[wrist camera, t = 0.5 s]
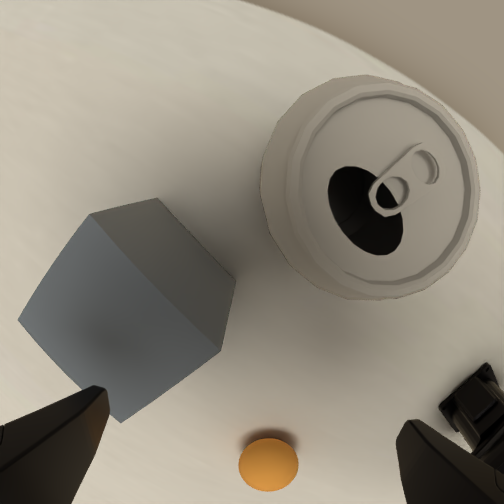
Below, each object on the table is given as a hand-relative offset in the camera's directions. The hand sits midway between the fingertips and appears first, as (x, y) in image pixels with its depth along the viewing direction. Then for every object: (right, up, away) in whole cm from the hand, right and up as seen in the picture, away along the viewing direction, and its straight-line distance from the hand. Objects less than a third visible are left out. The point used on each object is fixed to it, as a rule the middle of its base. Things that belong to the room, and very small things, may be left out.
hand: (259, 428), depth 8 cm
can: (+4, +9, +12) cm, 15 cm away
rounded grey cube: (-7, +3, +13) cm, 15 cm away
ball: (+1, -13, +14) cm, 19 cm away
